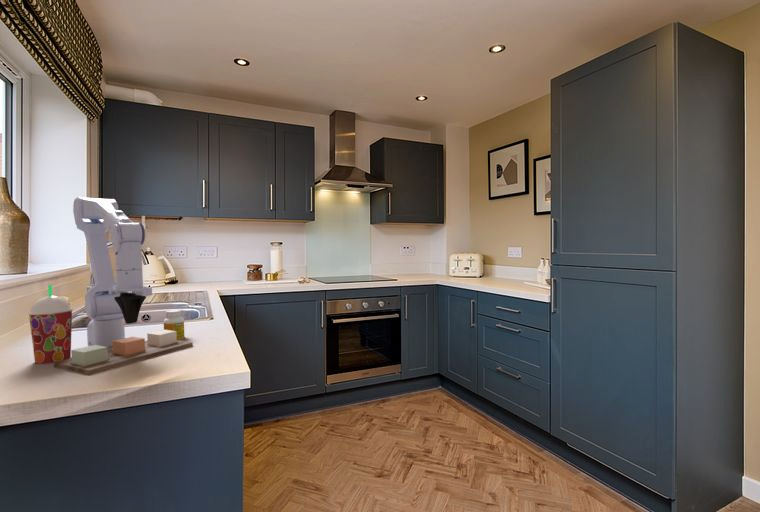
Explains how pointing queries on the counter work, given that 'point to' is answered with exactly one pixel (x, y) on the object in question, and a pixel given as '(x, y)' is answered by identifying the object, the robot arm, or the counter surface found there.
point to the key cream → (162, 338)
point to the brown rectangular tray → (122, 358)
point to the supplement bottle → (174, 323)
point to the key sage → (89, 355)
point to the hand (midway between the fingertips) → (131, 322)
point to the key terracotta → (128, 345)
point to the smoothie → (51, 329)
